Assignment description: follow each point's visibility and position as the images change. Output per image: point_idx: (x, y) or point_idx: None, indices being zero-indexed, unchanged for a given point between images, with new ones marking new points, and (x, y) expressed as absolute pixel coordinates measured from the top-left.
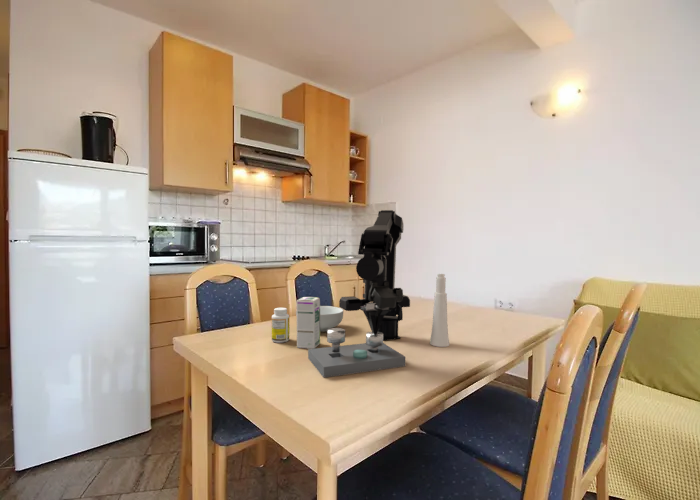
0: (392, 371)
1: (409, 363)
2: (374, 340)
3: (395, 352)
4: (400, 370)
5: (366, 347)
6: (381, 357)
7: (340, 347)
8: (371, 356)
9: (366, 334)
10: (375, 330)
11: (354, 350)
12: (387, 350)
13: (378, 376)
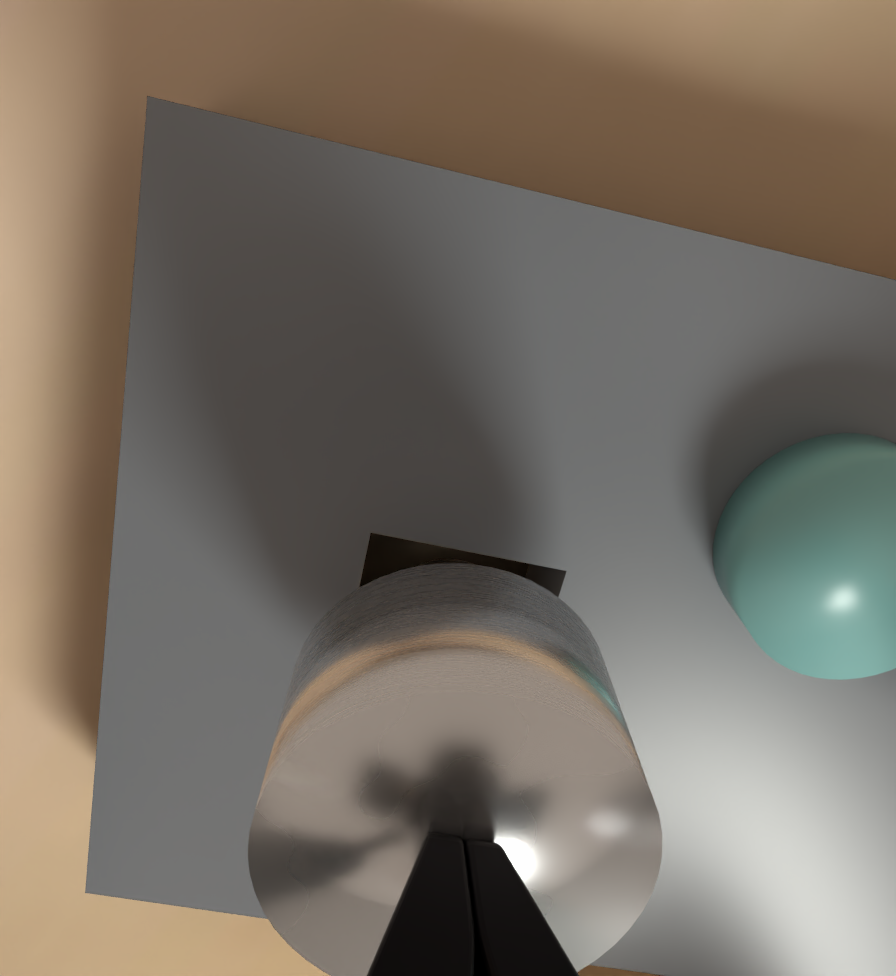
0: (528, 50)
1: (58, 176)
2: (577, 665)
3: (184, 390)
4: (389, 6)
5: None
6: (580, 315)
7: (756, 939)
8: (681, 448)
9: (639, 906)
10: (488, 901)
11: (880, 672)
12: (249, 541)
13: (852, 7)
